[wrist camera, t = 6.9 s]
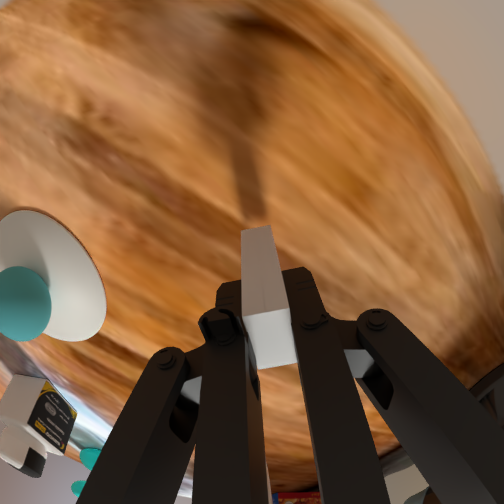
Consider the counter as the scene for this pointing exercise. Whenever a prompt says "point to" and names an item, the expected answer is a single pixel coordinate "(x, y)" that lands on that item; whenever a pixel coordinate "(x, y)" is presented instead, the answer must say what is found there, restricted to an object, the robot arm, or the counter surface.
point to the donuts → (88, 459)
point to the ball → (23, 304)
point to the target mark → (56, 272)
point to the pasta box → (296, 498)
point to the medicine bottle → (33, 423)
